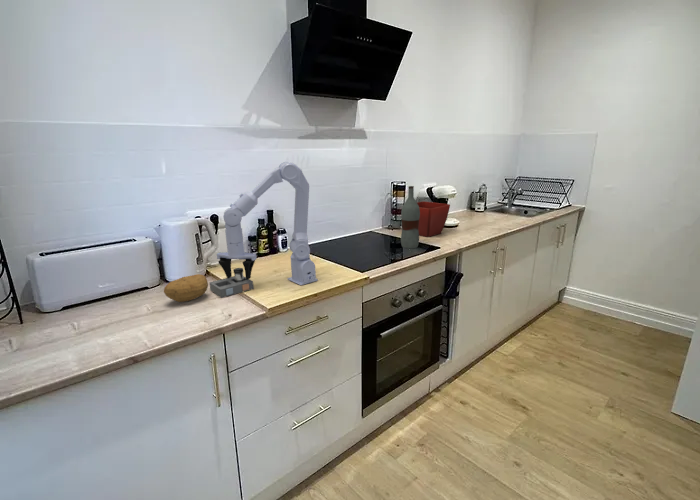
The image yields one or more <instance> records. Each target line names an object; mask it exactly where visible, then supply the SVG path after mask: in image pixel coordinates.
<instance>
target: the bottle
mask: <svg viewBox="0 0 700 500" xmlns="http://www.w3.org/2000/svg"><path fill="white" fill-rule="evenodd" d="M414 190H415V186H414V185H408V190H407V191H408V193H407V194H408V195H407V196H408V197H407V199H406V200H405V202H404V203H403V205H402V207H401V212H400V216H401V217H400V218H401V233H400V244H401V248H404V249H409V250H410V249H417V248H418V246H419V243H420V235H419V231H418V227H419V218H420V209H419V206H418V204H417V201H416V199H415V197H414V193H415V191H414Z"/></svg>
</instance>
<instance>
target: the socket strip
mask: <svg viewBox="0 0 700 500" xmlns="http://www.w3.org/2000/svg"><path fill="white" fill-rule="evenodd" d="M243 278H244V281H241V282H237V283H235V275H233V276H232V277H230V278H229V279H228V278H227V277H225V278H222V279H219V280H213V281H210V282H208V285H209V290H210V291H211V292H212V293H214V294H215V295H217V296H218V297H220V298H221V299H222V298H225V297H229V296H233V295H238V294H241V293H244V292H247V290H248V291H251V289H252V290H254V280H252V279H251V278H250V279H248V280H246V276H244V275H243ZM243 291H244V292H243Z"/></svg>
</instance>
